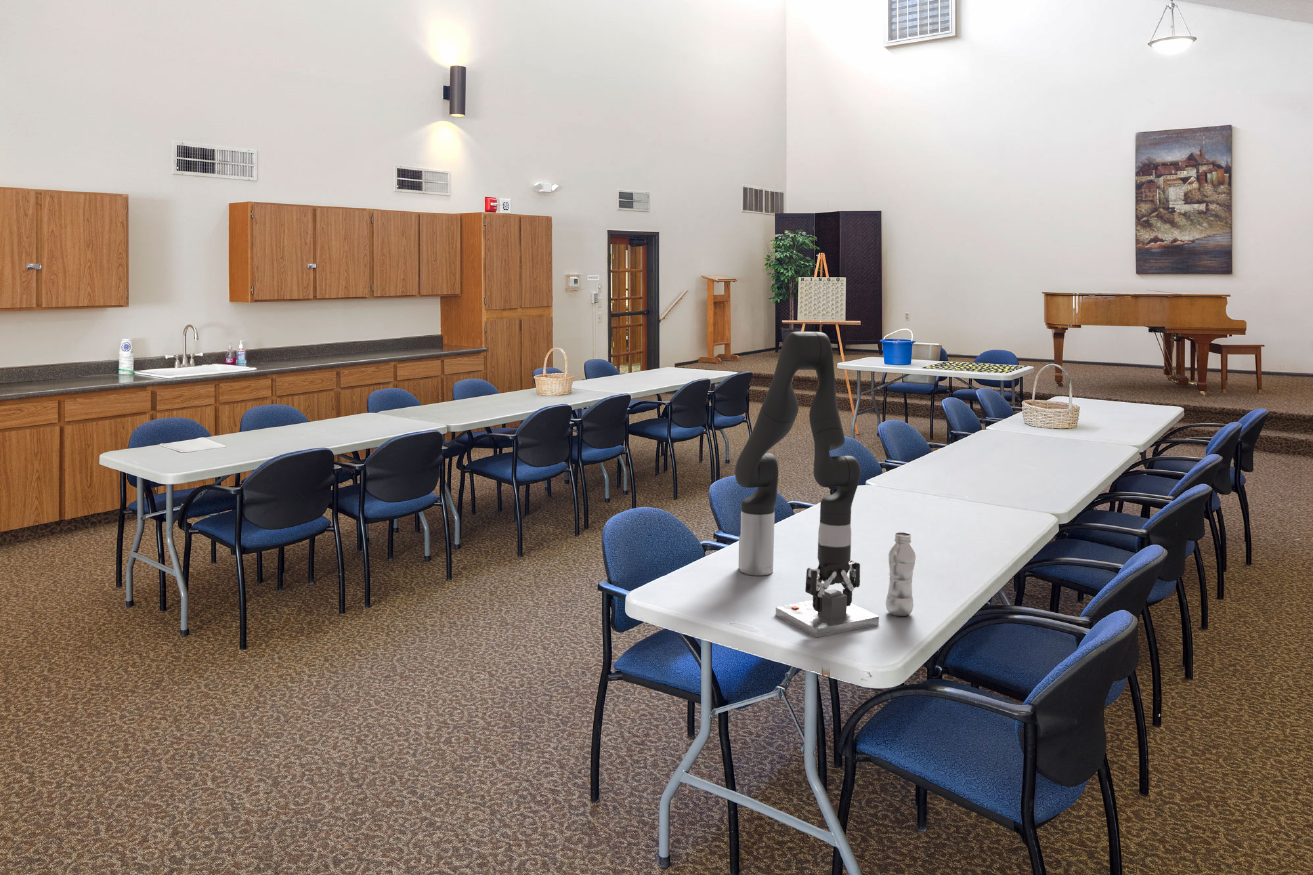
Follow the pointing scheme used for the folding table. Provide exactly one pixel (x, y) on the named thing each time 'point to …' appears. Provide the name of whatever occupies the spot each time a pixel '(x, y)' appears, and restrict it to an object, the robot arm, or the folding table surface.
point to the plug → (834, 604)
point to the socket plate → (825, 619)
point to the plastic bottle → (901, 576)
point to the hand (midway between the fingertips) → (832, 608)
